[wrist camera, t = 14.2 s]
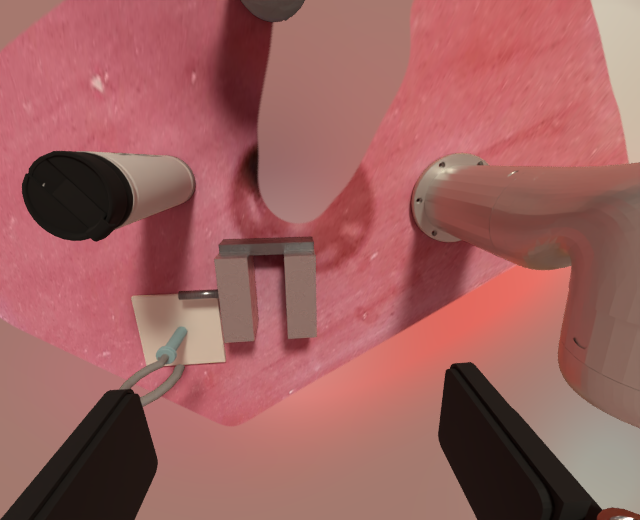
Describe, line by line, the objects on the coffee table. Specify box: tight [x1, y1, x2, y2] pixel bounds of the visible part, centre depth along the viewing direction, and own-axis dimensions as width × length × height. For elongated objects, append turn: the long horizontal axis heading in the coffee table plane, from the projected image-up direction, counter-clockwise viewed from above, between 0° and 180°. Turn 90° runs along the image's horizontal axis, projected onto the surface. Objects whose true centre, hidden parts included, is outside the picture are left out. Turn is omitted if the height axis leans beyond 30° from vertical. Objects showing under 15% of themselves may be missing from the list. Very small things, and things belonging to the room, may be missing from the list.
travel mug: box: [22, 151, 195, 241], centre depth 30 cm, size 6×7×20 cm
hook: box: [119, 327, 187, 407], centre depth 38 cm, size 8×2×15 cm, turn 107°
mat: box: [131, 294, 226, 366], centre depth 46 cm, size 12×12×1 cm
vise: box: [178, 237, 317, 343], centre depth 42 cm, size 19×13×6 cm
